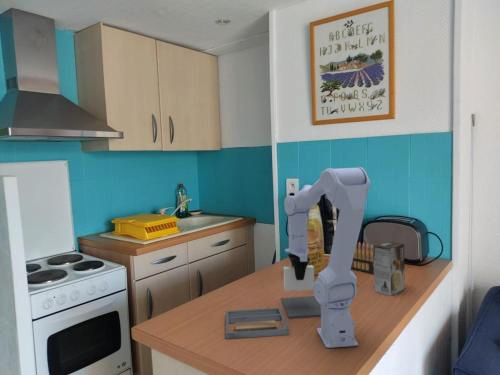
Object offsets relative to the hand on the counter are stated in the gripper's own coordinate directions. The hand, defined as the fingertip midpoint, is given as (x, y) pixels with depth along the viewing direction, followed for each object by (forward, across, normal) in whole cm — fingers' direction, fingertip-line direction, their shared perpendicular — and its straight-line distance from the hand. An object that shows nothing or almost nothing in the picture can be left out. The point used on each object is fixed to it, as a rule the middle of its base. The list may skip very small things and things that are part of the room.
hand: (299, 278), depth 109 cm
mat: (+10, -1, +2) cm, 10 cm away
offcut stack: (+10, +12, -15) cm, 22 cm away
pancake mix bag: (+10, -32, +11) cm, 35 cm away
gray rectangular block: (+3, 0, 0) cm, 4 cm away
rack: (+10, +9, -15) cm, 20 cm away
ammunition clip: (+10, -31, +33) cm, 46 cm away
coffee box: (+10, -10, +34) cm, 36 cm away
